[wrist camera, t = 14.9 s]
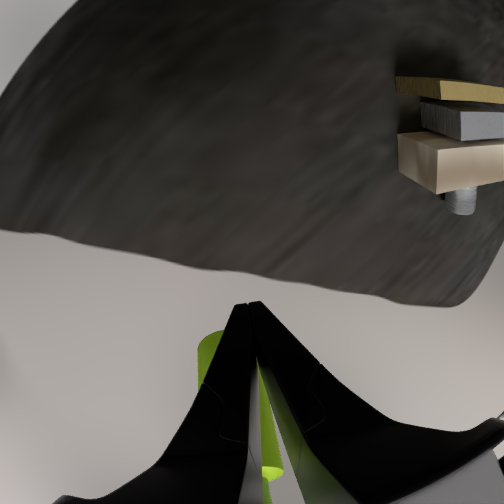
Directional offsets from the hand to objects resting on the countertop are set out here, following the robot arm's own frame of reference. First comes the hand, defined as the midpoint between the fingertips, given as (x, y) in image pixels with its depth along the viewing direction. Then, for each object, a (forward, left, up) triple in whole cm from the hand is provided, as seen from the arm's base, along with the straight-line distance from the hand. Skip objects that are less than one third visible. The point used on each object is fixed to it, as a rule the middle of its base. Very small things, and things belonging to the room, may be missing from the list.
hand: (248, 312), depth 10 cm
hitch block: (0, +19, -12) cm, 22 cm away
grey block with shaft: (+1, +19, -12) cm, 23 cm away
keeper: (-5, +17, -12) cm, 21 cm away
